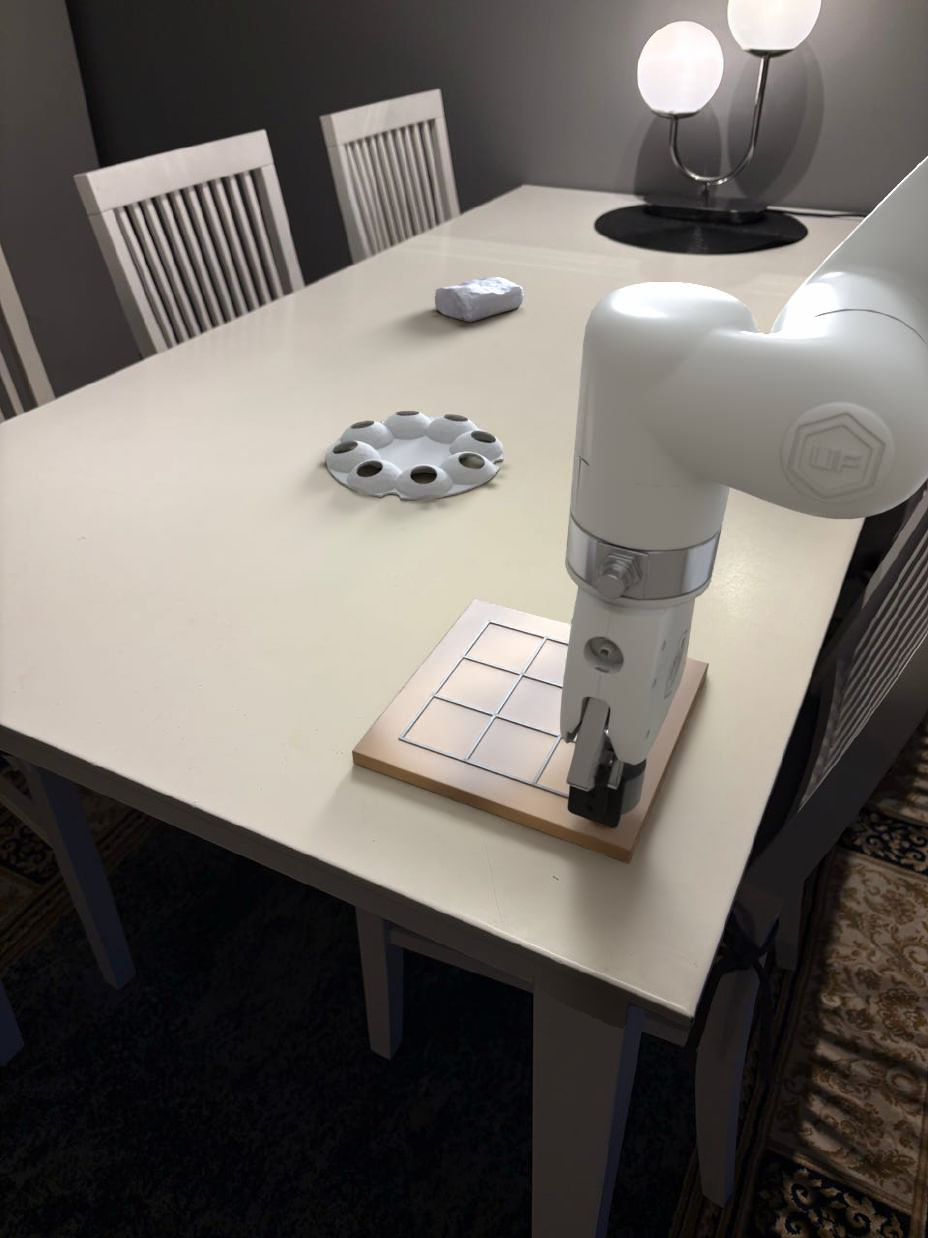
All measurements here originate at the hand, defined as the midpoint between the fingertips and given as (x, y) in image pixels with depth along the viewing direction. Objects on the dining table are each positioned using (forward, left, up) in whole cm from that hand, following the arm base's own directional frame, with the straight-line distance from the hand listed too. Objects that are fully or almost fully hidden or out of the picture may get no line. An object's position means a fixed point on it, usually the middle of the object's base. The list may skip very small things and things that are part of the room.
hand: (607, 786), depth 57 cm
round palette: (+35, -41, -4) cm, 54 cm away
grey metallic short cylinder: (0, 0, 0) cm, 0 cm away
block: (+50, -89, -4) cm, 102 cm away
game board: (+7, -8, -3) cm, 11 cm away
